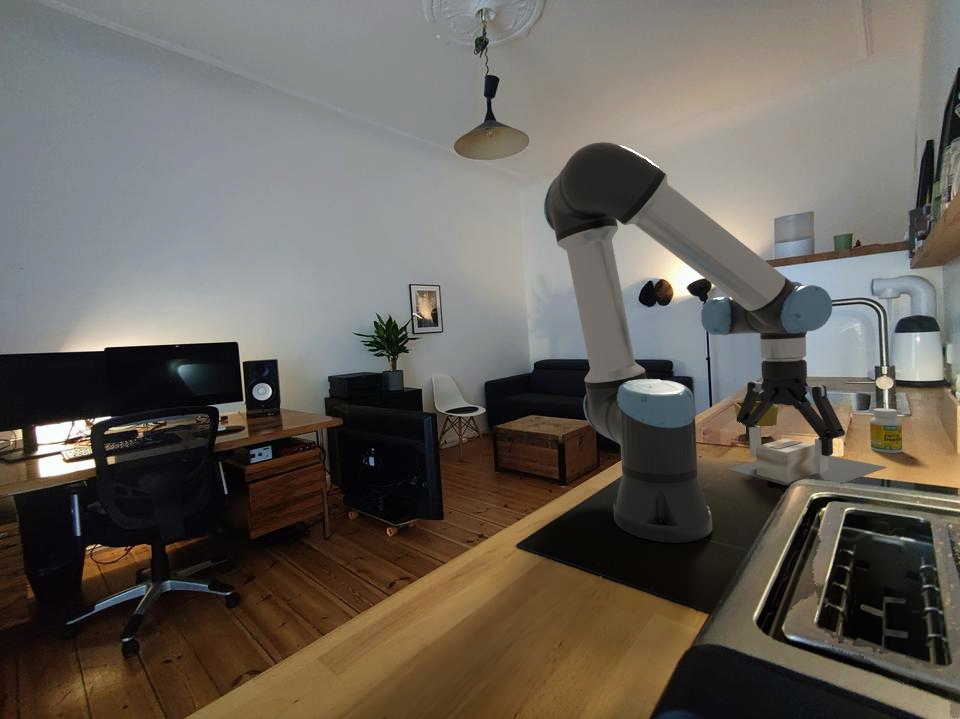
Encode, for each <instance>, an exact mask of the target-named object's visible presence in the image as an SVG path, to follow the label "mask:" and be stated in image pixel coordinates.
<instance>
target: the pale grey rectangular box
mask: <svg viewBox="0 0 960 719" xmlns="http://www.w3.org/2000/svg"><path fill="white" fill-rule="evenodd" d="M755 459H756V460H755V461H756V462H757V475H761V476H764V477H768V478H772V479H776V480H779V481H783V482H787V483H789V482H792V481H795V480H798V479H801V478H803V477H807V476H810V475H813V474H816V473H817V472H816V462H815V442H814V443H812V442H808V441H803V440H798V439H791V438H782V439H777V440H774V441H771V442H767V443H764V444H763V443H761V445H759V446H756V457H755Z"/></svg>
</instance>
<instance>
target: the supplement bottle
mask: <svg viewBox="0 0 960 719" xmlns="http://www.w3.org/2000/svg"><path fill="white" fill-rule="evenodd" d="M872 411H873V412H872V413H873V414H872V415H873V416H874V417H871V418H870V420H869V432H870V448H871V450H873V451H875V452H879V453H885V454H886V453H887V454H899V453H901V452H902V451H903V423H902V421H901V419H900V418H897V417H898V409H893V408H884V407H883V408H880V407H879V408H877V407H876V408H873V410H872Z"/></svg>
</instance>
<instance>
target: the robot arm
mask: <svg viewBox="0 0 960 719" xmlns="http://www.w3.org/2000/svg"><path fill="white" fill-rule="evenodd" d="M543 203H544V204H543V212H544V218H545V220H546V222H547V224H548V226H549V227H550V229H551V230H553V231H554V234H555V239H556V245H557V246H558V247H559V248H561V249H562V250H564V251H565V252H566V253H567V254H566V255H567V259H568V264H569V268H570V273H571V279H572V284H573V289H574V295H575V299H576V304H577V309H578V316H579V320H580V323H581V329H582V335H583V339H584V344H585V345H584V346H585V349H586V355H587V359H588V360H587V361H588V364H589V365H588V366H589V371H588V373H587V374H586V376H584V377H585V378H584V380H583V381H584V384H585V389H586V390H585V391H586V393H585V395H584V399H583V412H584V415H585V418H586V420H587V422H588V424H590V426H591V427H592V428H593V429H594V430H595V431H596V432H597V433H598V434H600V435H602V436H603V437H605V438H607V439H610V440H611V441H613V442H615V443H617V444H618V445H620V461H621V474H622V475H621V478H620V483H619V486H618V492H617V497H616V499H614V503H613V520H614V523H615V524H616V525H617V527H618V528H620V529H621V530H623V531H624V532H626V533H628V534H630V535H632V536H635V537H636V538H637V537H638V538H641V539H643V540H649V541H654V542H659V543H675V544H676V543H681V544H682V543H689V542H694V541H699V540H702V539H704V538H706V537H707V536H709V535H710V534H711V533H712V531H713V519H712V518H713V517H712V516H713V515H712V511H711V509H710V507H709V505H707V501H706V499H705V495H704V493H703V490H702V487H701V484H700V482H699V478H698V477H699V476H698V475H699V474H698V456H697V455H698V454H697V452H698V451H697V450H698V449H697V434H696V433H697V432H696V431H697V428H696V416H697V410H696V405H695V399H694V395H693V392H692V391H691V389H689V388H688V386H686V385H684V384H682V383H680V382H679V383H678V382H676V381H672V380H661V379H658V378H657V379H653V378H649V379H648V377H647V374H646V369H645V368H644V367H643V366H641V365H640V364H638V363H637V362H636V360H635V355H634V349H633V344H632V340H631V334H630V329H629V323H628V319H627V314H626V308H625V303H624V297H623V292H622V288H621V287H622V286H621V283H620V276H619V272H618V265H617V261H616V255H615V250H614V246H613V245H614V244H613V239H614V237H615V235H616V234H617V232H618V230H619V227H618V226H619V225H618V222H619V223H621V224H622V225H623V226H627V225H628V226H629V225H635V226H636V227H637V228H638V229H640V230H641V231H642V232H644V233H645V234H646V235H648V236H649V237H650V238H651V239H653V240H654V241H656V243H658V244H660V245H661V246H662V247H663V248H665V249H666V250H667V251H669V252H670V253H672V254H673V255H674V256H675V257H677V259H679V260H680V261H681V262H683V263H684V264H686V265H687V266H689V267H690V268H691V269H693V271H695V273H697V274H699V275H700V276H702V277H703V278H704V279H705V280H707V281H708V282H709V283H711V284H712V285H713V286H715V287H716V288H717V289H719V291H721V292H723V293H724V294H725V295H726V296H725V295H724V296H721V297H712V298H709V299H707V300H706V301H705V303H704V304H703V306H702V308H701V312H700V316H701V317H700V319H701V320H700V321H701V324H702V327H703V329H704V330H705V332H707V333H708V334H709V335H712V336H713V335H714V336H721V335H722V336H728V335H738V334H741V335H742V334H759V335H760V338H759V339H760V340H759V341H760V357H761V359H764V360H762V361H761V363H760V366H761V377H762V380H763V381H762V382H760V381H759V380H754V381H749V382H747V383H746V384H747V390H746V394H745V397H744V399H743V401H742V402H743V404H742V406H741V409H740V411H739V414H738V416H737V417H736V422H737V423H738V422H739V423H740V422H741V423H742V424H744V425H745V426H746V435H745V438H746V440H747V441H749V457H750V458H756V446H759V445H762V437H761V426H755V425H758V424H757V423H758V422H759V421H760V419H761V418H762V417H763V416H764V415H765V413H766V412H767V411H768V410H769V409H770V407H771V406H772V405H773V404H774V405H784V406H790V407H791V406H792V407H793V408H794V409H795V410H797V411H798V412H799V413H800V414H801V415H802V417H803V418H804V419H805V421H806V422H807V424H809V426H810V427H811V429H812V430H813V431H814V432H815V433H816V434H817V436H818V437H817V438H815V439H814V444H815V462H816V472H817V473H822V472H825V471H828V456H833V453H834V444H833V443H834V442H833V440H834V439H837V438H840V437H844V436H845V435H846V431H845V428H843V425H842V424H841V422H840V419H839V418H838V416H837V414H836V412H835V409H834V408H833V406H832V404H831V402H830V400H829V397H828V392H827V386H825V385H824V384H821V385H813V386H812V385H809V384H808V383H807V378H808V363H807V361H806V360H805V359H804V358H805V357H807V341H806V340H807V339H806V335H807V334H806V332H813V331H816V330H819V329H820V328H823V326H824V325H825V324H827V322H828V321H829V319H830V317H831V316H832V313H833V300H832V298H831V295H830V294H829V293H828V291H827V290H825V288H823V287H821V286H817V285H815V284H814V285H813V284H812V285H807V284H802V283H801V282H799V281H792V280H790V279H788V278H787V277H786V276H785V275H784V274H782V273H781V272H780V271H779V270H777V269H776V268H774V266H772V265H771V264H770V263H768V262H767V261H766V260H764V259H763V258H762V257H761V256H759V255H758V254H757V253H756V252H754V251H753V250H752V249H751V248H750V247H749V246H747V245H746V244H745V243H743V242H741V240H739V239H738V238H737V237H736V236H735V235H733V234H731V233H730V232H729V231H728V230H726V228H724V227H723V226H722V225H720V224H719V223H718V222H717V221H715V220H714V219H712V218H711V216H709V215H707V214H706V213H705V212H704V211H702V210H701V209H700V208H699V207H698V206H697V205H695V204H694V203H692V201H690V200H689V199H687V198H686V197H685V196H684V195H682V194H681V193H680V192H678V191H677V190H676V189H675V188H674V187H672V186H671V185H669V183H668V174H667V173H666V171H664V170H663V169H662V168H660V167H659V166H658V165H656V164H655V163H654V162H652V161H651V160H650V159H649V158H647V157H646V156H643V155H641V154H640V153H638V152H636V151H634V150H632V149H630V148H629V147H626V146H623V145H622V144H621V145H620V144H617V143H613V142H603V141H601V142H593V143H590V144H587V145H585V146H582V147H580V149H578V150H577V151H575V152H574V153H573V155H571V156H570V157H569V159H568V160H567V162H566V164H565V165H564V167H563V168H562V169H561V171H560V172H559V173H558V175H557V176H556V177H555V178H554V179H553V181H552V182H551V183H550V185H549V187H548V189H547V192H546V194H545V198H544V202H543ZM761 391H763V392H764V393H765V394H764V396H763V397H762V399H760V401H759V402H761V403H760V404H759V405H758V406H757V408H756V409H755V410H754V411H753V413H752V414H751V412H752V410H753V408H754V405H755V403H756V402H757V400H758V397H759V396H760V392H761ZM808 394H809V396H810V397H812V400H813V403H814V405H815V406H816V409H817V411H816V410H815V409H814V407H813V406H812V405H811V404H812V403H811V402H810V401H809V399H808V397H807V396H806V395H808ZM817 412H819V413H817Z"/></svg>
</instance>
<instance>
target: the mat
mask: <svg viewBox="0 0 960 719" xmlns="http://www.w3.org/2000/svg"><path fill="white" fill-rule="evenodd" d="M886 468H887V466H885V465H884V466H883V465H878V464H874V463H868V462H862V461H858V460H853V459H848V458H844V457H838V456H833V455H830V456H828V471H825V472H822V473H816V474H813V475H810V476H807V477H808V478H811V479H821V480H830V481H837V482H843V483H842V484H845V483H847V482H850V481H852V480H857V479H858V478H862V477H864V476H866V475H870V474H873V473H875V472H877V471H880V470H883V469H886ZM727 470H729V471H732V472H735V473H738V474H743V475H745V476H750V477H754V478H758V479H762V480H765V481H769V482H772V483H776V484H780V485H783V486H786V485H787V487H789V486H788V485H789V484H791V483H792V482H794V481H792V482H789V483H787V482H783V481H779V480H776V479H772V478H768V477H764V476H761V475H757V462H756V460H754V461H751V462H748V463H744V464H740V465H737V466H733V467H730V468H727ZM801 479H802V478H801ZM798 480H799V479H798ZM795 481H796V480H795Z"/></svg>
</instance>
